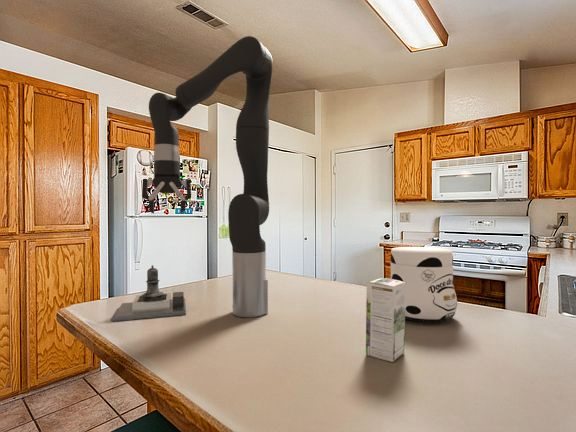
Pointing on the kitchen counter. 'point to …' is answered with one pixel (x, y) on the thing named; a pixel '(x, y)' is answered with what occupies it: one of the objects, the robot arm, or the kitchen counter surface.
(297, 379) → the kitchen counter surface
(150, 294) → the grey chess piece
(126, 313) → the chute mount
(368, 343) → the syrup box
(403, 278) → the milk container
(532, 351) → the kitchen counter surface
